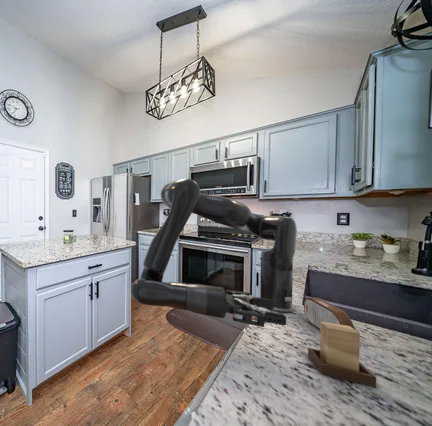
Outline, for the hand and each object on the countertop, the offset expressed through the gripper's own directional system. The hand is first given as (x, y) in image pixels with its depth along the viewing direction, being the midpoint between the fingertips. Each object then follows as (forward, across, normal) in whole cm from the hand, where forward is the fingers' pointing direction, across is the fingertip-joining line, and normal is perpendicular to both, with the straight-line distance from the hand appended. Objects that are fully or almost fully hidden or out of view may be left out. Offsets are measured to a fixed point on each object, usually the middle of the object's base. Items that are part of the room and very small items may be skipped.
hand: (278, 311), depth 50 cm
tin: (+16, +18, +11) cm, 27 cm away
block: (+11, 0, +10) cm, 15 cm away
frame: (+11, 0, +11) cm, 15 cm away
